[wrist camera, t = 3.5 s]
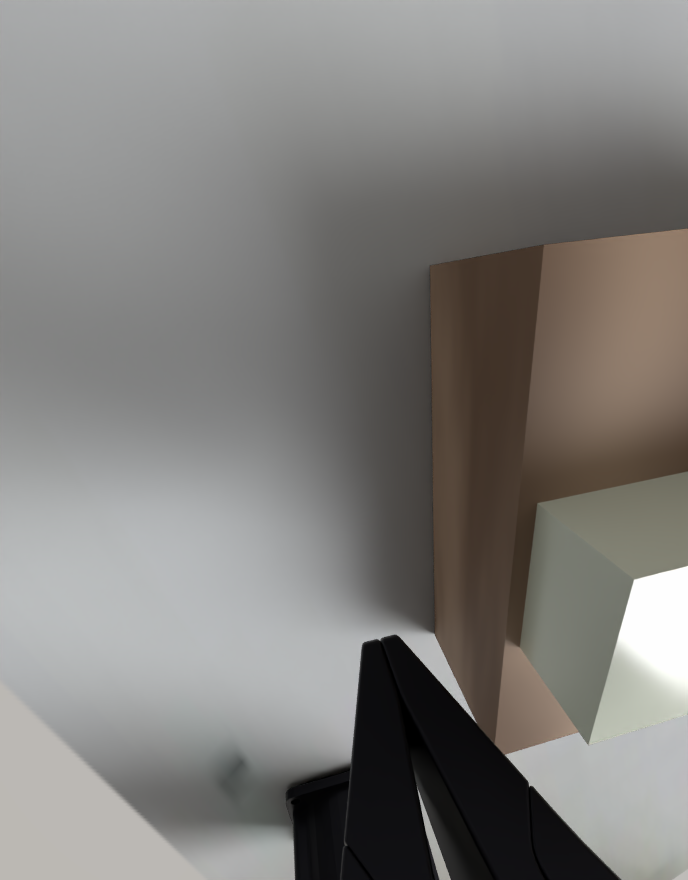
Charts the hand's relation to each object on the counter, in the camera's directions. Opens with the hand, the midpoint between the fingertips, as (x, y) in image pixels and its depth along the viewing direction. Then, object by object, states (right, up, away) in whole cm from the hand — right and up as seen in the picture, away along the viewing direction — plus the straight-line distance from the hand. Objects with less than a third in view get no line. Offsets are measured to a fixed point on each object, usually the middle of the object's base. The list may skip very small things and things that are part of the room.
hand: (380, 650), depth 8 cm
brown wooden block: (+8, +4, +6) cm, 11 cm away
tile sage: (+6, +1, +2) cm, 7 cm away
